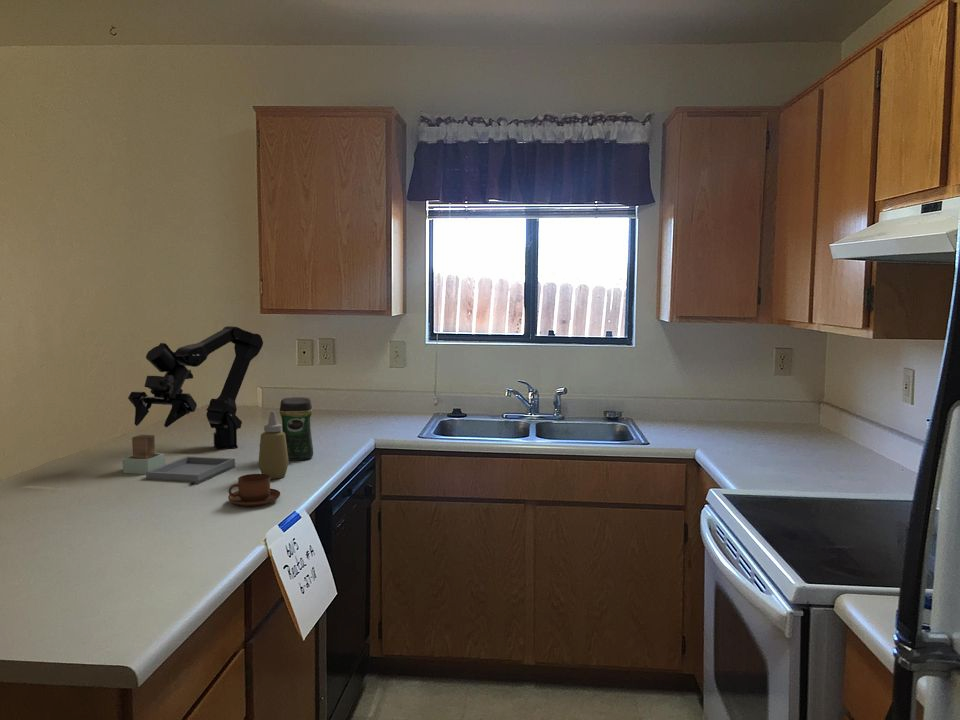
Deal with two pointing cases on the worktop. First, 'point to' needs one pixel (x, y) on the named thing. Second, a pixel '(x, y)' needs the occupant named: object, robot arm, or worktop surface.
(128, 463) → the mint green open box
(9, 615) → the worktop surface
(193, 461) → the tray
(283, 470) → the squeeze bottle
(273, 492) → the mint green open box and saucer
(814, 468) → the worktop surface
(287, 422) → the coffee jar
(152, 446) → the square block
